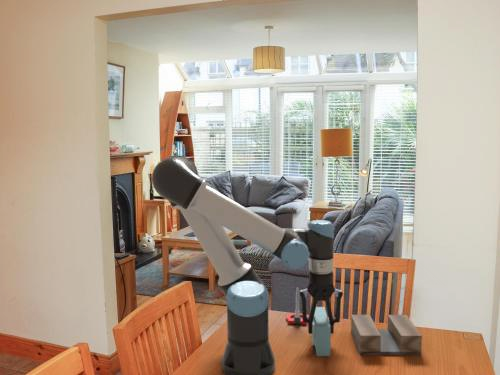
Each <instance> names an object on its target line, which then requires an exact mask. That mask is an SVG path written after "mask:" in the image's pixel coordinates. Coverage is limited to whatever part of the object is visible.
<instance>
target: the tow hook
mask: <svg viewBox="0 0 500 375" xmlns="http://www.w3.org/2000/svg"><path fill="white" fill-rule="evenodd" d="M299 291H300V289H299V287H296V291H295V292H296V293H295V310H294V312H293V313H289V314H287V315H286V317H285V320H286V321H287V325H294V326H295V325H297V326H308V323H306V322H303V319H301V318H302V312H301V311H300V292H299ZM307 317H309V314H307Z"/></svg>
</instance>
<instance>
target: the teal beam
mask: <svg viewBox="0 0 500 375" xmlns="http://www.w3.org/2000/svg"><path fill="white" fill-rule="evenodd" d="M313 322H314V323H315V345H314V349H315V353H316V357H331V335H332V334H331V327H330V323H329V317H328V313H327V309H326V307H325V306H316V310H315V314H314V319H313Z"/></svg>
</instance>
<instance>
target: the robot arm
mask: <svg viewBox="0 0 500 375" xmlns="http://www.w3.org/2000/svg"><path fill="white" fill-rule="evenodd" d="M151 182H152V187H153V189H154V190H155V192H156V193H157V194H158V195H159V196H161V197H162V198H163V199H165V200H167V201H168V203H169V204H170V205H171V207H172V208H173V209H176V210H180V213H181V214H182V215H183V217H184V219H185V221H186V223H187V224H188V226H189V227H190V229H191V231H192V233H193V235H194V236H195V238H196V239H197V242H198V243H199V245H200V246H201V248H202V249H203V251H204V253H205V255H206V256H207V258H208V259H209V261H210V263H211V265H212V266H213V268H214V270H215V271H216V273H217V275H218V277H219V278H218V281H217V285H218V286H219V288H220V290H221V292H222V293H223V295H224V297H225V303H226V322H227V323H226V325H227V326H226V327H227V328H226V329H227V332H226V333H227V343H226V344H225V349H224V352H223V355H222V357H221V370H222V373H223V374H225V375H271V374H272V373H274V371H275V370H276V369H275V368H276V358H275V355H274V353H273V350H272V345H271V343H270V340H269V339H270V338H269V336H270V334H269V330H270V329H269V304H270V303H269V302H270V297H269V292H268V288H267V287H266V286H265V284H264V281H263V279H262V278H261V277H260V275H259V274H257V273H256V271H255V270H254V267H253V266H252V265H251V264H250V263H248V262H244V261H243V258H242V257H241V255H240V253H239V252H238V250H237V248H236V247H235V244H234V243H233V241H232V239H231V238H230V236H229V234H228V233H227V231H226V230H225V228H226V229H227V230H229V231H231V232H232V233H234V234H236V235H238V236H240V237H241V238H243V239H245V240H246V241H248V242H250V243H252V244H253V245H256V246H258V247H259V248H261V249H262V250H264V251H266V252H268V253H270V254H271V255H272V256H274V257H276V258H278V259H280V260H281V261H282V262H283V263H284V265H285V266H286V267H288V268H290V269H293V270H294V269H296V270H297V269H300V268H302V267H304V266H305V265H306V264H307V263H308V269H309V271H308V285H307V288H304V289H299V297H300V298H301V314H302V317H301V318H302V319H301V320H303V322H306V323H307V328H308V329H307V331H308V334H310V335H311V345H312V346H315V323H314V322H313V319H314V314H315V310H316V307H317V305H318V302H319V301H321V302H322V301H323V302H325V306H326V307H325V309H326V313H327V317H328V320H329V323H330V327H331V335H332V334H334V330H335V329H334V327H335V326H334V325H335V324H336V323H340V321H341V306H342V303H341V301H342V297H343V295H344V293H343V291H342V289H337V288H336V287H335V285H334V252H335V251H334V249H335V248H334V247H335V246H334V244H335V243H334V241H335V233H334V224H333V222H331V221H329V220H324V219H316V220H311V221H310V222H308V227H301V228H298V227H296V228H294V227H293V228H291V227H290V228H283V227H279V226H278V225H276V224H274V223H273V222H271V221H269V220H267V219H266V218H264V217H263V216H261V215H259V214H257V213H255V212H254V211H252V210H251V209H249V208H247V207H245V206H243V205H242V204H240V203H238V202H236V200H235V201H234V200H233V199H231V198H230V197H228V196H226V195H224V194H223V193H221V192H219V191H218V190H216V189H214V188H212V187H211V186H209V185H208V184H207V182H206V179H205V178H203V177H201V176H200V175H199V171H198V168H197V165H196V164H195V163H194V162H193V161H192V160H191V159H189V157H186V156H182V155H171V156H169V157H166V158H164V159H163V160H160V161H159V162H158V163H157V164H156V165H155V166H154V169H153V170H152V174H151ZM308 294H309V295H310V296H311V297H312V298H311V299H312V300H311V305H310V308H309V313H308V314H307V299H306V297H308ZM333 294H334V295H335V305H334V316H333V311H332V307H331V302H330V298H331V297H332V295H333ZM307 315H308V316H309V317H307Z"/></svg>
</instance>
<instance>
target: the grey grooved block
mask: <svg viewBox="0 0 500 375" xmlns="http://www.w3.org/2000/svg"><path fill="white" fill-rule="evenodd" d="M350 333H351V336H352V338H353V340H354V343H355V346H356V349H357V350H358V352H359V355H360V356H363V355H364V356H367V355H368V356H369V355H371V356H422V343H423V342H422V340H423V336H422V334H421V332H420V331H419V330H418V328H417V327H416V325H414V323H413V322H412V321H411V319H410V317H409V316H408V315H407V314H388V315H387V328H386V329H383V328H382V329H381V328H380V329H379V328H377V326H376V324H375V322H374V320H373V318H372V317H371V315H370V314H351V315H350Z"/></svg>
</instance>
